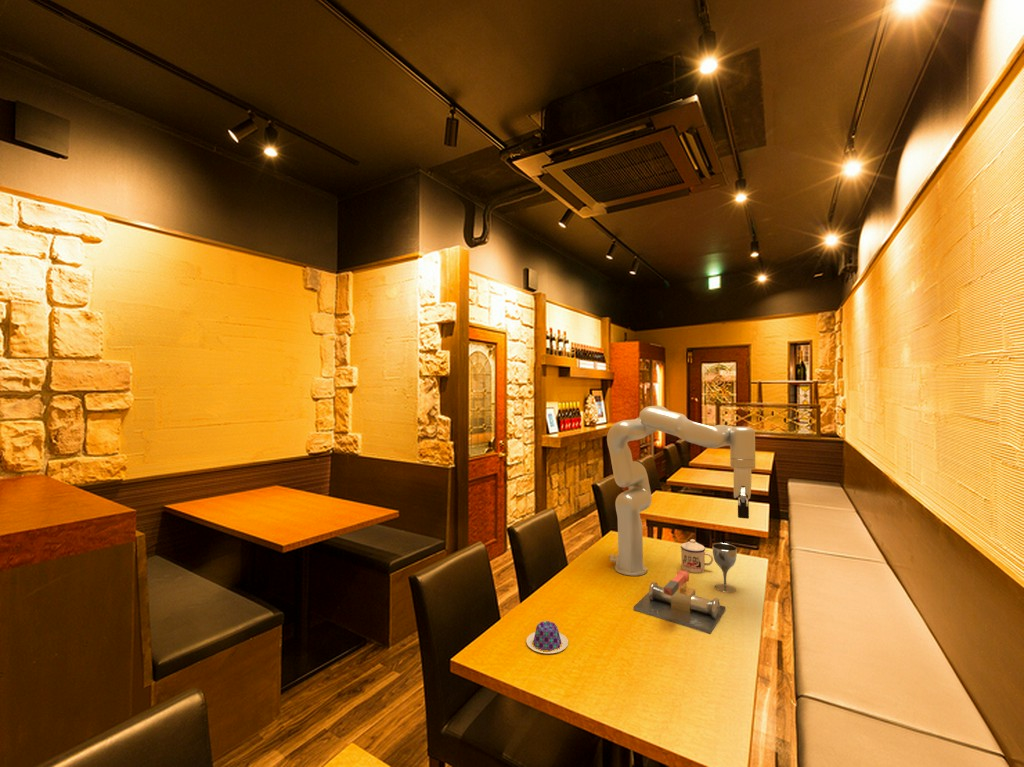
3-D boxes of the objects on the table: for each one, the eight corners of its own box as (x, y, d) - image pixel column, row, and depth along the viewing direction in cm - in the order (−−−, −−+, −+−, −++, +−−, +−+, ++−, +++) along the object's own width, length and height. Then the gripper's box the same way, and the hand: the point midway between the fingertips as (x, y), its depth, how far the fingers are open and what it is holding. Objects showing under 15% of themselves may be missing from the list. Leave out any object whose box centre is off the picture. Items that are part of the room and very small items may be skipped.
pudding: (520, 637, 133) (519, 619, 133) (556, 629, 137) (556, 612, 137) (536, 660, 122) (536, 640, 122) (575, 650, 126) (575, 631, 126)
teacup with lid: (679, 571, 179) (678, 541, 179) (682, 563, 187) (682, 534, 187) (712, 576, 173) (711, 546, 173) (714, 568, 181) (713, 539, 181)
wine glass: (734, 595, 157) (734, 552, 158) (710, 589, 162) (710, 547, 162) (739, 587, 164) (738, 545, 164) (716, 581, 169) (715, 541, 169)
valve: (633, 609, 148) (632, 580, 148) (653, 590, 162) (653, 563, 162) (710, 633, 133) (709, 600, 133) (725, 609, 147) (724, 580, 147)
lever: (679, 576, 150) (679, 569, 150) (690, 579, 148) (690, 571, 148) (662, 593, 138) (662, 585, 138) (674, 597, 136) (673, 589, 136)
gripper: (731, 458, 161) (731, 506, 161) (729, 466, 146) (730, 519, 146) (754, 460, 158) (755, 509, 158) (755, 468, 142) (756, 522, 142)
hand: (743, 514), depth 152 cm, fingers open, 9 cm apart
